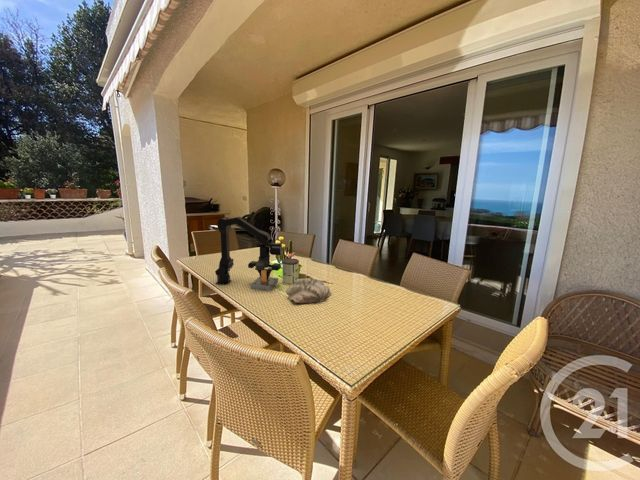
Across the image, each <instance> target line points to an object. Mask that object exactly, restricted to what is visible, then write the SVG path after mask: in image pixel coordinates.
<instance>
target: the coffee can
mask: <svg viewBox="0 0 640 480" xmlns="http://www.w3.org/2000/svg"><path fill="white" fill-rule="evenodd" d="M281 262H282V281H281V282H282V284H284V285H287V286H292V285H296V281H297V280H298V279H299V266H300V265H299V263H300V261H299V259H297V258H284V259H283V260H282V261H281Z"/></svg>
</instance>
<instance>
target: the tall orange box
mask: <svg viewBox="0 0 640 480" xmlns="http://www.w3.org/2000/svg"><path fill="white" fill-rule="evenodd" d="M267 269H268V268H265V269H264V270H261V282H265V283H267V282H268V280H267Z"/></svg>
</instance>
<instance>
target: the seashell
mask: <svg viewBox="0 0 640 480" xmlns="http://www.w3.org/2000/svg"><path fill="white" fill-rule="evenodd" d="M288 286H289V287H286V289H285V294H286V295H287V296H288V297H289V301H292V302H293V303H297V304H305V303H306V304H308V303H317V302H322V301H323V300H324V299H328V298H329V297H330V296H331V295H332V294H331V293H332V292H331V291H330V287H329V286H328V285H324V283H323V280H321V279H315V278H312V279H311V277H309V278H308V277H305V278H298V280H297V281H296V284H294V285H288ZM328 296H329V297H328Z"/></svg>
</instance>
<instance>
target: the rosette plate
mask: <svg viewBox="0 0 640 480" xmlns="http://www.w3.org/2000/svg"><path fill="white" fill-rule="evenodd" d="M278 283H279V277H273V276H272V277H271V276H269V278H268V282H267V283H265V282H261V277H260V276H259V277H257V278H256V279H254V280H253V281H252V282H251V283H250V287H249V288H250V290H257V291H266V292H267V291H268V292H271V291H272V290H273V289H274V288H275V287H276V286H277V285H278Z"/></svg>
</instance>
